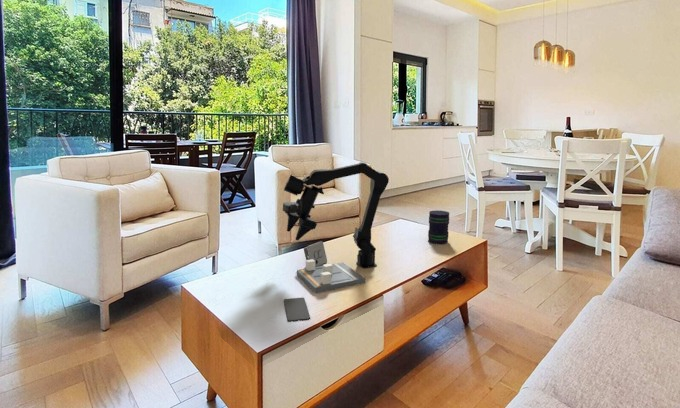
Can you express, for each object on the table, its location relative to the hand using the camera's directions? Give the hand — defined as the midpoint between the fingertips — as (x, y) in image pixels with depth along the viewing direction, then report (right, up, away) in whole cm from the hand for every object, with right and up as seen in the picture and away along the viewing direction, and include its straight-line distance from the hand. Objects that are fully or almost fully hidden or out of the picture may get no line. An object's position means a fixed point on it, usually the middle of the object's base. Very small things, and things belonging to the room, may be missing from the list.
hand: (292, 235), depth 157 cm
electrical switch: (+9, -13, +8) cm, 18 cm away
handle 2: (+14, -15, -17) cm, 27 cm away
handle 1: (+8, -13, -4) cm, 15 cm away
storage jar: (+68, -6, +40) cm, 80 cm away
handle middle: (+15, -14, -9) cm, 22 cm away
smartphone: (+5, -21, -33) cm, 39 cm away
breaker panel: (+15, -16, -8) cm, 23 cm away
